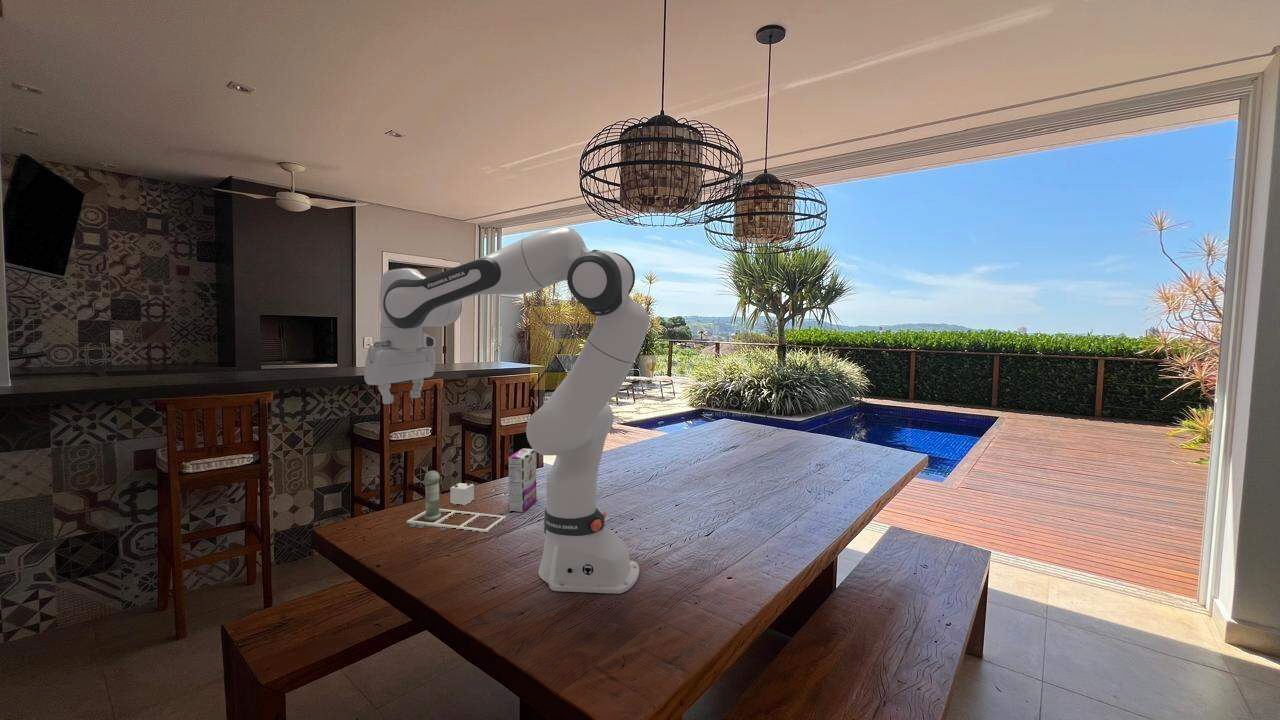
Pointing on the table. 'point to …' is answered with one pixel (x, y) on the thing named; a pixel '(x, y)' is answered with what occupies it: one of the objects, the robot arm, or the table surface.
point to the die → (462, 493)
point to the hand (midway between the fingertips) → (402, 400)
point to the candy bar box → (522, 479)
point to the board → (436, 524)
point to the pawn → (432, 496)
